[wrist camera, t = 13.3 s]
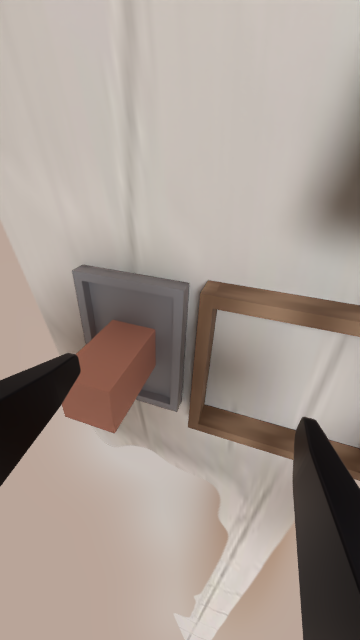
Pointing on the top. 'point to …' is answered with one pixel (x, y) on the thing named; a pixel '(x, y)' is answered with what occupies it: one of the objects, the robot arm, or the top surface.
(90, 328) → the charcoal tray
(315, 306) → the frame
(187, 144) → the top surface
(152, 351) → the brick block
